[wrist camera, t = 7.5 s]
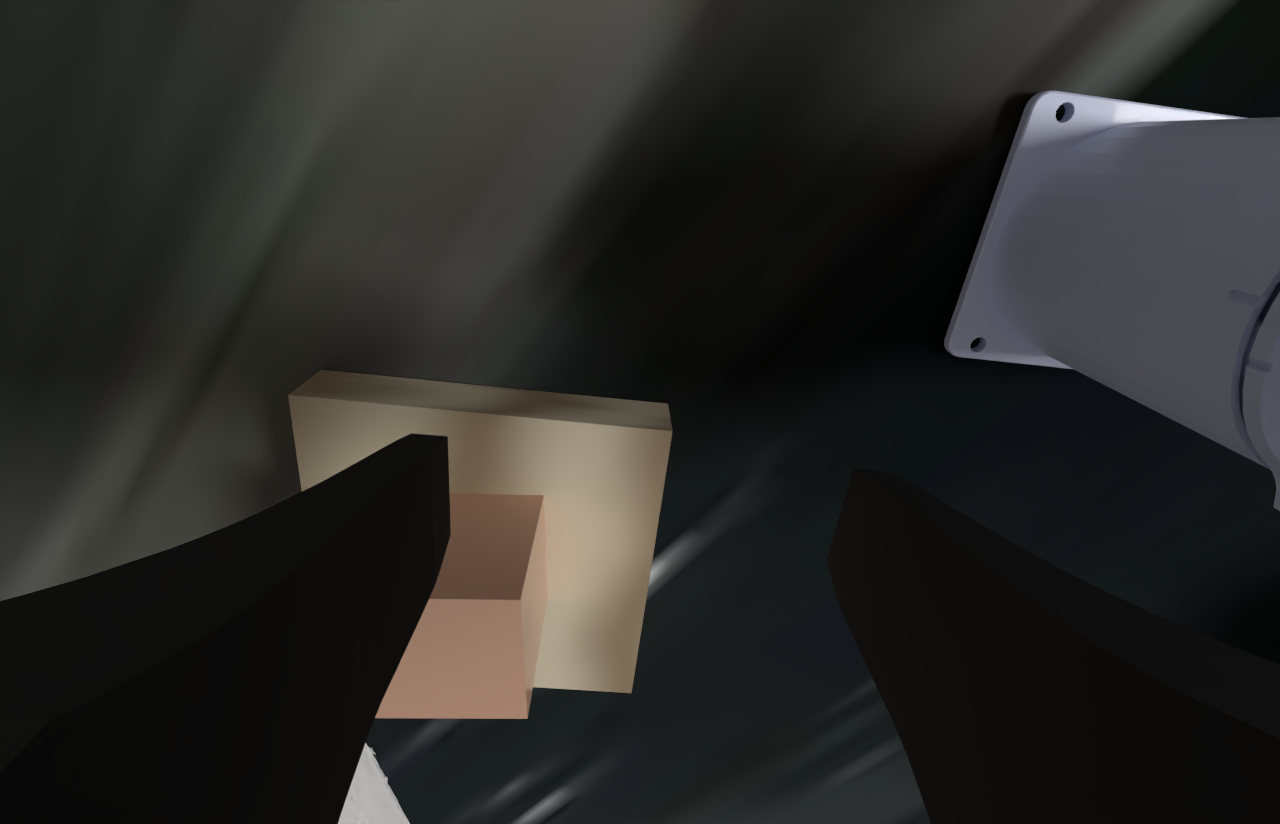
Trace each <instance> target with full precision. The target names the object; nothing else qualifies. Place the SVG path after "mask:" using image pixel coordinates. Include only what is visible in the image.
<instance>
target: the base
mask: <svg viewBox="0 0 1280 824" xmlns="http://www.w3.org/2000/svg"><path fill="white" fill-rule="evenodd" d="M288 398H289V405H290V412H291V419H292V427H293V434H294V441H295V448H296V455H297V462H298V469H299V476H300V483H301V490H302V491H304V490H306V489H308V488H310V487H312V486H314V485H316V484H318V483H320V482H322V481H324V480H326V479H328V478H329V477H331V476H333V475H335V474H337V473H339V472H340V471H342V470H344V469H346V468H348V467H349V466H351V465H353V464H355V463H357V462H359V461H360V460H362V459H364V458H366V457H367V456H369V455H371V454H373V453H375V452H376V451H378V450H380V449H382V448H384V447H385V446H387V445H389V444H391V443H393V442H395V441H396V440H398V439H400V438H402V437H405V436H407V435H409V434H411V433H413V434H425V435H438V436H448V459H449V493H450V494H502V495H544V512H545V540H546V568H547V596H548V599H547V605H546V611H545V617H544V623H543V629H542V635H541V641H540V647H539V653H538V659H537V665H536V671H535V677H534V683H533V687H541V688H557V689H573V690H589V691H605V692H621V693H631V692H632V686H633V680H634V673H635V667H636V660H637V654H638V648H639V641H640V635H641V629H642V622H643V616H644V609H645V603H646V597H647V590H648V584H649V578H650V571H651V565H652V559H653V552H654V546H655V539H656V533H657V527H658V520H659V514H660V508H661V501H662V495H663V488H664V482H665V476H666V469H667V463H668V457H669V450H670V444H671V437H672V425H671V419H670V413H669V407H668V404H667V403H657V402H646V401H636V400H626V399H616V398H605V397H595V396H585V395H575V394H565V393H554V392H544V391H534V390H524V389H513V388H503V387H493V386H483V385H472V384H462V383H452V382H442V381H431V380H421V379H411V378H401V377H391V376H380V375H370V374H360V373H350V372H339V371H329V370H320V371H319V372H318V373H316V374H315V375H314V376H312V377H311V378H310V379H308V380H307V381H306V382H304V383H303V384H302V385H300V386H299V387H298V388H297V389H295V390H294V391H293V392H291V393H290V394H289V395H288Z"/></svg>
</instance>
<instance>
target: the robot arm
mask: <svg viewBox="0 0 1280 824" xmlns="http://www.w3.org/2000/svg"><path fill="white" fill-rule="evenodd" d="M1062 104H1063V105H1064V107H1065V114H1064V116H1063V118H1062V119H1061V120H1060V121H1057V119H1056V117H1055V116H1056V111H1057V109H1058V108H1059V106H1060V105H1062ZM979 337H980V342H979V344H978V345H977V346H976V347H974V348H970V346H971V343H972V341H973V340H974V339H976V338H979ZM944 346H945V349H946V350H947V351H948V352H949V353H951V354H952V355H954V356H957V357H964V358H973V359H983V360H992V361H1001V362H1011V363H1020V364H1029V365H1039V366H1048V367H1057V368H1067V369H1075V370H1077V371H1078V372H1080V373H1082V374H1084V375H1086V376H1088V377H1090V378H1092V379H1094V380H1096V381H1098V382H1100V383H1102V384H1104V385H1106V386H1108V387H1110V388H1112V389H1114V390H1116V391H1118V392H1120V393H1122V394H1124V395H1125V396H1127V397H1129V398H1131V399H1133V400H1135V401H1137V402H1139V403H1141V404H1143V405H1145V406H1147V407H1149V408H1151V409H1153V410H1155V411H1157V412H1159V413H1161V414H1163V415H1165V416H1167V417H1169V418H1170V419H1172V420H1174V421H1176V422H1178V423H1180V424H1182V425H1184V426H1186V427H1188V428H1190V429H1192V430H1194V431H1196V432H1198V433H1200V434H1202V435H1204V436H1206V437H1208V438H1210V439H1212V440H1214V441H1215V442H1217V443H1219V444H1221V445H1223V446H1225V447H1227V448H1229V449H1231V450H1233V451H1235V452H1237V453H1239V454H1241V455H1243V456H1245V457H1247V458H1249V459H1251V460H1253V461H1255V462H1257V463H1259V464H1261V465H1262V466H1264V467H1266V468H1268V469H1270V470H1271V471H1272V472H1273V474H1274V477H1275V481H1276V495H1275V500H1274V508H1275V509H1277V510H1279V511H1280V117H1276V118H1243V117H1236V116H1229V115H1222V114H1215V113H1208V112H1201V111H1194V110H1187V109H1180V108H1173V107H1166V106H1159V105H1152V104H1145V103H1138V102H1131V101H1124V100H1117V99H1110V98H1103V97H1096V96H1089V95H1082V94H1075V93H1068V92H1061V91H1045V92H1040V93H1038V94H1036V95H1034V96H1033V97H1032V98H1031V99H1030V100H1029V101H1028V103H1027V105H1026V107H1025V108H1024V111H1023V114H1022V117H1021V120H1020V123H1019V126H1018V129H1017V131H1016V134H1015V137H1014V140H1013V143H1012V146H1011V149H1010V152H1009V155H1008V157H1007V160H1006V163H1005V166H1004V169H1003V172H1002V175H1001V178H1000V181H999V183H998V186H997V189H996V192H995V195H994V198H993V201H992V204H991V207H990V209H989V212H988V215H987V218H986V221H985V224H984V227H983V230H982V232H981V235H980V238H979V241H978V244H977V247H976V250H975V253H974V256H973V258H972V261H971V264H970V267H969V270H968V273H967V276H966V279H965V282H964V284H963V287H962V290H961V293H960V296H959V299H958V302H957V305H956V307H955V310H954V313H953V316H952V319H951V322H950V325H949V328H948V331H947V333H946V336H945V340H944ZM450 535H451V527H450V493H449V459H448V436H438V435H425V434H413V433H411V434H409V435H407V436H405V437H402V438H400V439H398V440H396V441H395V442H393V443H391V444H389V445H387V446H385V447H384V448H382V449H380V450H378V451H376V452H375V453H373V454H371V455H369V456H367V457H366V458H364V459H362V460H360V461H359V462H357V463H355V464H353V465H351V466H349V467H348V468H346V469H344V470H342V471H340V472H339V473H337V474H335V475H333V476H331V477H329V478H328V479H326V480H324V481H322V482H320V483H318V484H316V485H314V486H312V487H310V488H308V489H306V490H304V491H302V492H300V493H298V494H296V495H294V496H292V497H290V498H288V499H286V500H284V501H282V502H280V503H278V504H276V505H274V506H272V507H270V508H268V509H266V510H264V511H262V512H259V513H257V514H255V515H253V516H251V517H248V518H246V519H244V520H241V521H239V522H237V523H235V524H232V525H230V526H228V527H225V528H223V529H220V530H218V531H215V532H213V533H210V534H208V535H205V536H203V537H200V538H198V539H195V540H193V541H190V542H187V543H185V544H182V545H179V546H177V547H174V548H171V549H168V550H165V551H162V552H159V553H156V554H153V555H150V556H147V557H144V558H141V559H138V560H135V561H132V562H129V563H126V564H123V565H120V566H118V567H115V568H112V569H109V570H106V571H103V572H100V573H97V574H94V575H91V576H88V577H84V578H81V579H78V580H74V581H71V582H68V583H64V584H61V585H57V586H54V587H50V588H47V589H43V590H40V591H36V592H33V593H29V594H26V595H22V596H18V597H15V598H11V599H7V600H3V601H0V824H338V822H339V819H340V815H341V812H342V809H343V806H344V803H345V800H346V797H347V794H348V791H349V789H350V786H351V783H352V780H353V777H354V774H355V771H356V768H357V766H358V763H359V760H360V757H361V754H362V751H363V748H364V745H365V743H366V740H367V737H368V734H369V731H370V729H371V726H372V724H373V721H374V719H375V717H376V714H377V712H378V709H379V707H380V704H381V702H382V700H383V698H384V696H385V693H386V691H387V689H388V687H389V685H390V683H391V680H392V678H393V676H394V674H395V672H396V670H397V668H398V665H399V663H400V661H401V659H402V657H403V655H404V652H405V650H406V648H407V646H408V644H409V642H410V640H411V637H412V635H413V633H414V631H415V629H416V627H417V624H418V622H419V620H420V618H421V616H422V613H423V611H424V609H425V607H426V605H427V602H428V600H429V598H430V596H431V594H432V591H433V589H434V587H435V585H436V582H437V578H438V575H439V572H440V569H441V566H442V563H443V559H444V556H445V552H446V549H447V546H448V542H449V539H450ZM827 564H828V567H829V571H830V574H831V578H832V582H833V585H834V589H835V592H836V595H837V598H838V601H839V604H840V607H841V610H842V612H843V615H844V617H845V619H846V622H847V624H848V626H849V628H850V630H851V633H852V635H853V637H854V639H855V641H856V644H857V646H858V648H859V650H860V652H861V654H862V656H863V659H864V661H865V663H866V665H867V667H868V669H869V671H870V674H871V676H872V678H873V680H874V682H875V684H876V686H877V688H878V691H879V693H880V695H881V697H882V699H883V701H884V703H885V706H886V708H887V710H888V712H889V714H890V716H891V718H892V720H893V723H894V725H895V727H896V729H897V732H898V734H899V737H900V739H901V741H902V744H903V746H904V748H905V751H906V753H907V756H908V759H909V762H910V764H911V767H912V770H913V773H914V776H915V779H916V781H917V784H918V787H919V790H920V793H921V796H922V799H923V801H924V804H925V807H926V810H927V813H928V816H929V819H930V822H931V824H1280V664H1278V663H1275V662H1273V661H1270V660H1267V659H1265V658H1262V657H1259V656H1257V655H1254V654H1251V653H1248V652H1246V651H1243V650H1241V649H1238V648H1235V647H1233V646H1230V645H1228V644H1225V643H1223V642H1221V641H1218V640H1216V639H1213V638H1211V637H1208V636H1206V635H1203V634H1201V633H1198V632H1196V631H1193V630H1191V629H1189V628H1186V627H1184V626H1181V625H1179V624H1176V623H1174V622H1172V621H1169V620H1167V619H1165V618H1162V617H1160V616H1158V615H1155V614H1153V613H1151V612H1149V611H1146V610H1144V609H1142V608H1140V607H1137V606H1135V605H1133V604H1131V603H1129V602H1127V601H1125V600H1123V599H1120V598H1118V597H1116V596H1114V595H1112V594H1110V593H1108V592H1106V591H1104V590H1101V589H1099V588H1097V587H1095V586H1093V585H1091V584H1089V583H1087V582H1085V581H1083V580H1081V579H1079V578H1077V577H1075V576H1073V575H1071V574H1069V573H1067V572H1065V571H1063V570H1061V569H1059V568H1058V567H1056V566H1054V565H1052V564H1050V563H1048V562H1047V561H1045V560H1043V559H1041V558H1039V557H1037V556H1036V555H1034V554H1032V553H1030V552H1028V551H1026V550H1024V549H1023V548H1021V547H1019V546H1017V545H1016V544H1014V543H1012V542H1010V541H1009V540H1007V539H1005V538H1003V537H1002V536H1000V535H998V534H996V533H995V532H993V531H991V530H990V529H988V528H986V527H985V526H983V525H981V524H979V523H978V522H976V521H974V520H973V519H971V518H969V517H968V516H966V515H964V514H963V513H961V512H959V511H958V510H956V509H954V508H953V507H951V506H949V505H948V504H946V503H944V502H943V501H941V500H939V499H938V498H936V497H934V496H933V495H931V494H929V493H927V492H926V491H924V490H922V489H920V488H919V487H917V486H915V485H913V484H912V483H910V482H908V481H906V480H904V479H902V478H900V477H898V476H896V475H894V474H891V473H889V472H887V471H875V470H863V469H853V473H852V476H851V480H850V483H849V486H848V490H847V493H846V496H845V500H844V503H843V506H842V510H841V513H840V516H839V520H838V523H837V526H836V530H835V533H834V537H833V540H832V543H831V547H830V550H829V553H828V557H827Z"/></svg>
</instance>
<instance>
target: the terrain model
mask: <svg viewBox="0 0 1280 824" xmlns="http://www.w3.org/2000/svg"><path fill="white" fill-rule="evenodd" d="M373 753H374V751H373V749H372V748H369V747H368V746H367V744H366V743H365V745H364V748H363V751H362V754H361V757H360V760H359V763H358V766H357V768H356V771H355V774H354V777H353V780H352V783H351V786H350V789H349V791H348V794H347V797H346V800H345V803H344V806H343V809H342V812H341V815H340V819H339V822H338V824H410V823H409V821H408V820H407V818H406V816H405V814H404V812H403V811H402V809H401V807H400V805H399V803H398V799H397V798H396V797H395V795H394V794H393V792H392V790H391V788H390V786H389V785H388V784H387V783H388V782H387V779H388V778H387V777H386V776H384V774H383V772H382V770H381V769H380V767H379V765H378V762H377V761H376V759H375V757H374V756H373ZM374 754H375V753H374ZM375 755H376V754H375ZM376 758H377V757H376Z"/></svg>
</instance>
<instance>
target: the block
mask: <svg viewBox="0 0 1280 824" xmlns="http://www.w3.org/2000/svg"><path fill="white" fill-rule="evenodd" d="M450 527H451V535H450V539H449V542H448V546H447V549H446V552H445V556H444V559H443V563H442V566H441V569H440V572H439V575H438V578H437V582H436V585H435V587H434V589H433V591H432V594H431V596H430V598H429V600H428V602H427V605H426V607H425V609H424V611H423V613H422V616H421V618H420V620H419V622H418V624H417V627H416V629H415V631H414V633H413V635H412V637H411V640H410V642H409V644H408V646H407V648H406V650H405V652H404V655H403V657H402V659H401V661H400V663H399V665H398V668H397V670H396V672H395V674H394V676H393V678H392V680H391V683H390V685H389V687H388V689H387V691H386V693H385V696H384V698H383V700H382V702H381V704H380V707H379V709H378V712H377V714H376V717H375V718H479V719H528V713H529V707H530V701H531V695H532V689H533V683H534V677H535V671H536V665H537V659H538V653H539V647H540V641H541V635H542V629H543V623H544V617H545V611H546V605H547V599H548V596H547V568H546V540H545V512H544V495H502V494H450Z"/></svg>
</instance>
